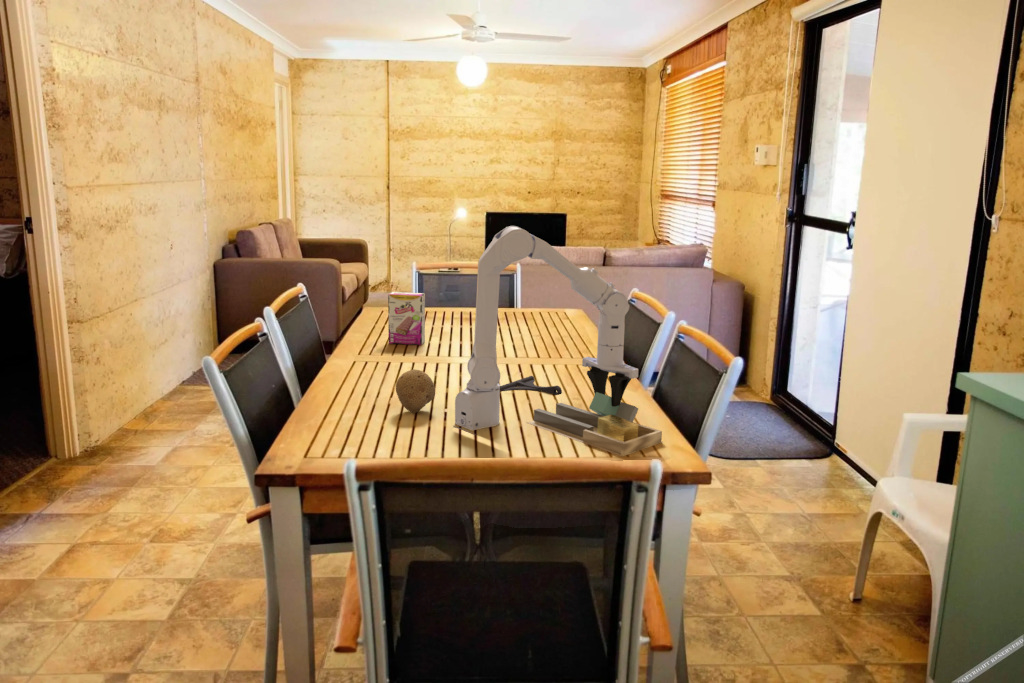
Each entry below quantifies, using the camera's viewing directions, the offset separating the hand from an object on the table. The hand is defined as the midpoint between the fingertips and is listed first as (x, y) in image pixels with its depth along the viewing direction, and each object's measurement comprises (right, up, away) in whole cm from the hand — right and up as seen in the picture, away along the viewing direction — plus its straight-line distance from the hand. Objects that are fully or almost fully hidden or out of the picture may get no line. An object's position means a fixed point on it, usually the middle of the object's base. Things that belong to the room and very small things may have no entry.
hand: (607, 403), depth 173 cm
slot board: (-4, -6, -8) cm, 11 cm away
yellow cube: (+1, -7, -15) cm, 16 cm away
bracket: (-15, +1, +27) cm, 31 cm away
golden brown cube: (-1, -6, -11) cm, 13 cm away
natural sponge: (-44, -3, +7) cm, 44 cm away
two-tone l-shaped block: (+3, -2, +1) cm, 4 cm away
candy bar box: (-56, +13, +78) cm, 97 cm away
